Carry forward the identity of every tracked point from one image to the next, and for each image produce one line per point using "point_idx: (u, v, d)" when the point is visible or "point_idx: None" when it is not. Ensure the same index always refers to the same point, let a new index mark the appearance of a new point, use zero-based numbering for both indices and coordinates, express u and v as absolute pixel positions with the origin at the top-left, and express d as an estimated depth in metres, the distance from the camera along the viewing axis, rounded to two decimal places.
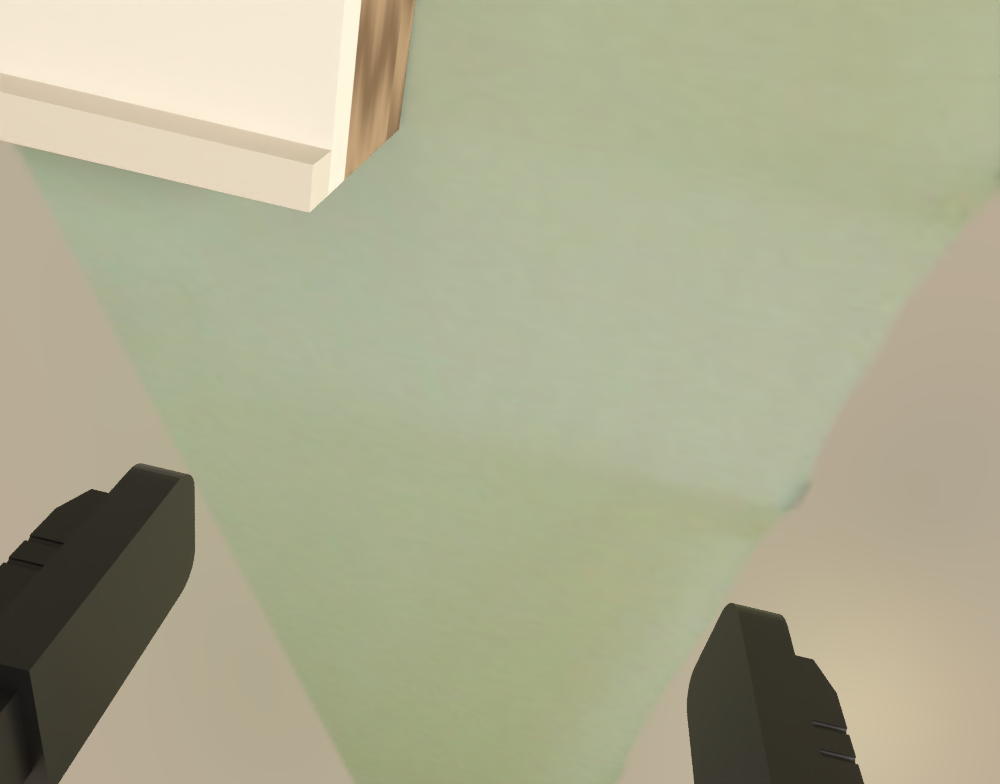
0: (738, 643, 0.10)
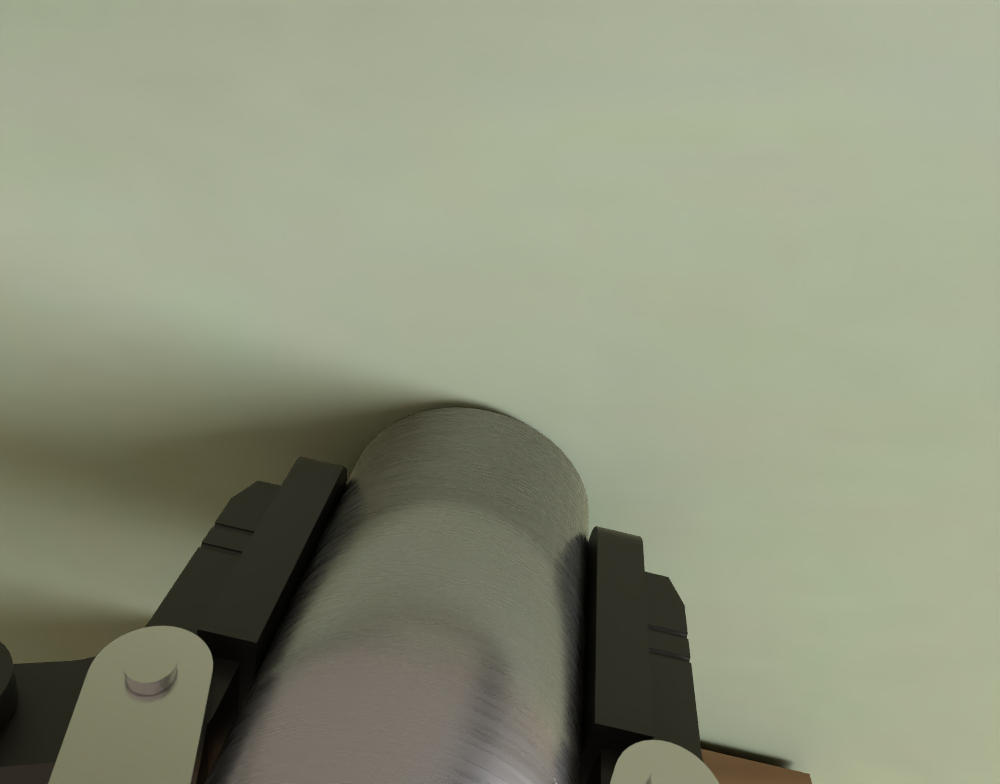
0: (594, 559, 0.11)
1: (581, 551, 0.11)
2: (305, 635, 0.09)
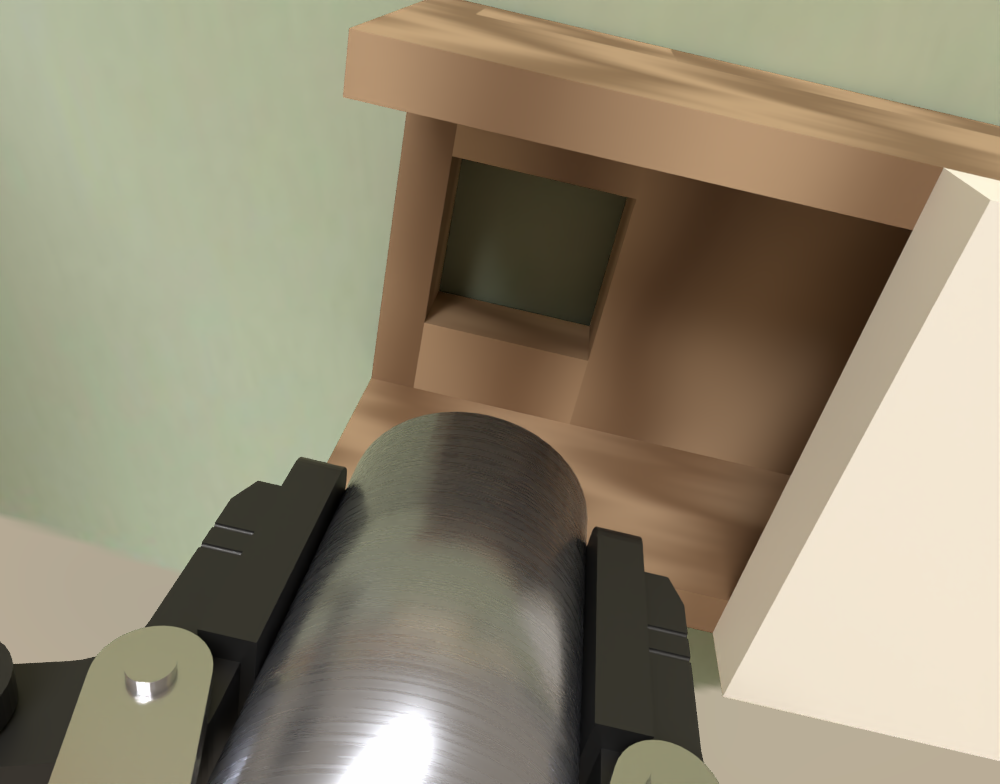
0: (594, 559, 0.11)
1: (580, 555, 0.11)
2: (305, 640, 0.09)
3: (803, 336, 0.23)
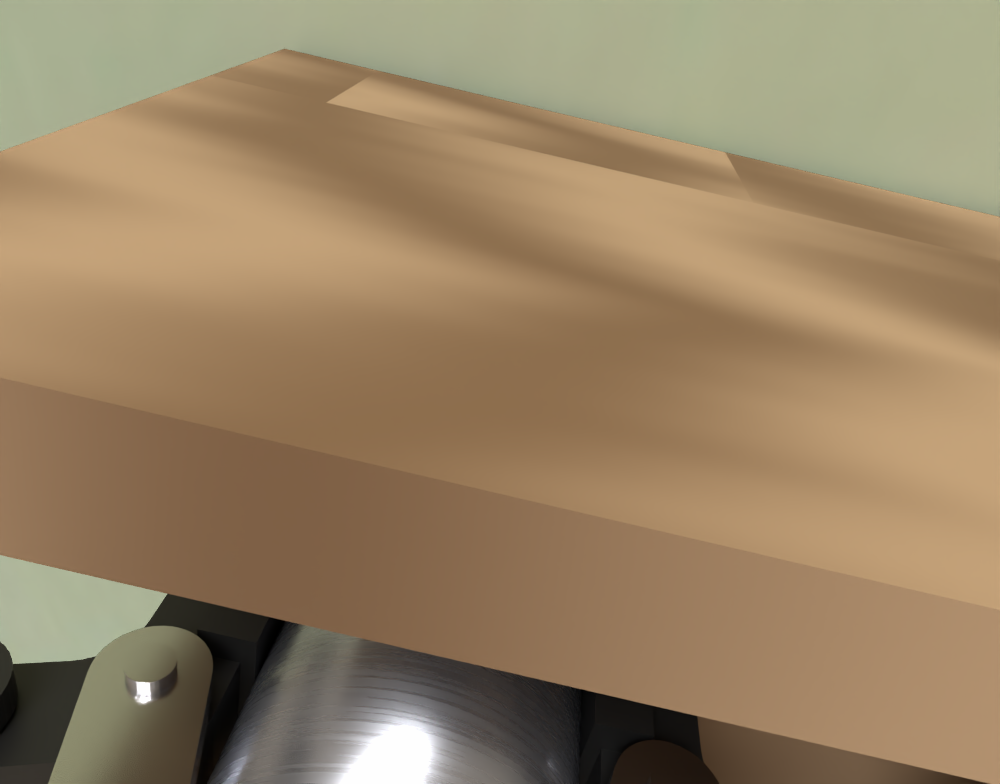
0: None
1: None
2: (305, 639, 0.09)
3: None
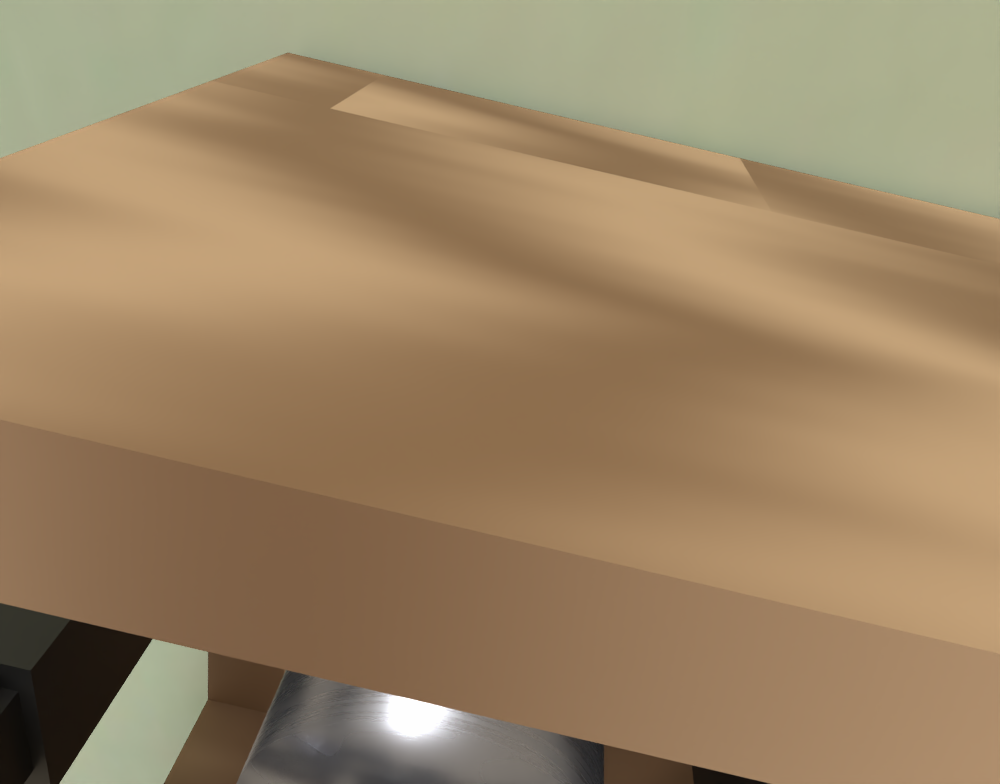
0: None
1: None
2: None
3: None
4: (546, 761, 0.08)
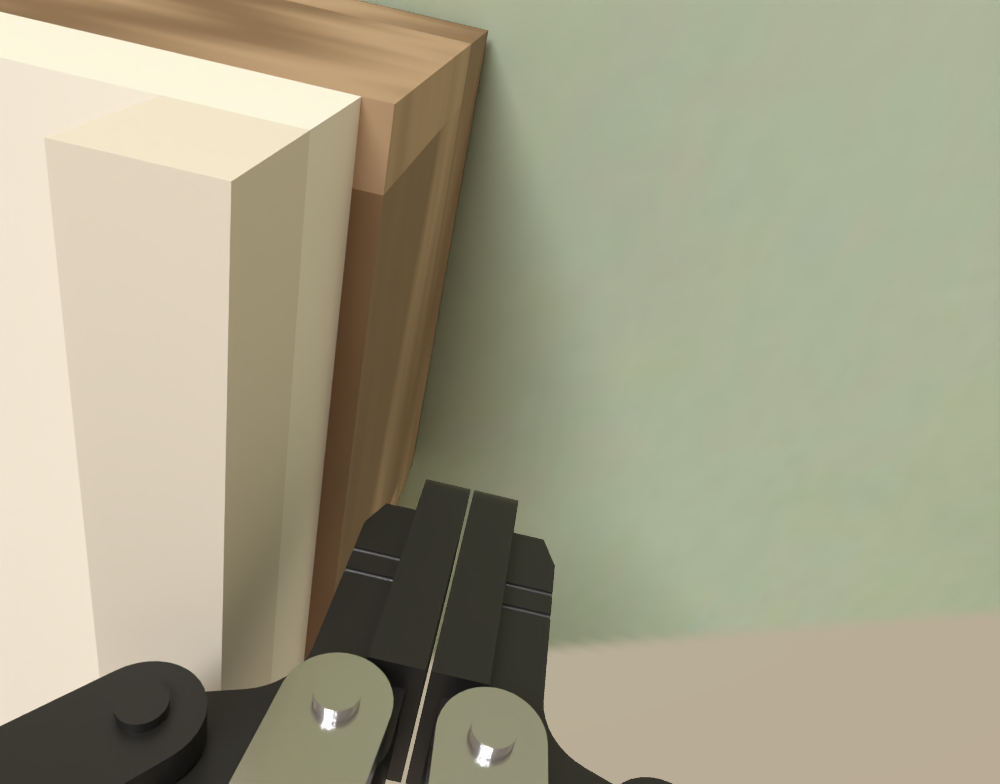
0: (467, 521, 0.11)
1: None
2: None
3: None
4: None
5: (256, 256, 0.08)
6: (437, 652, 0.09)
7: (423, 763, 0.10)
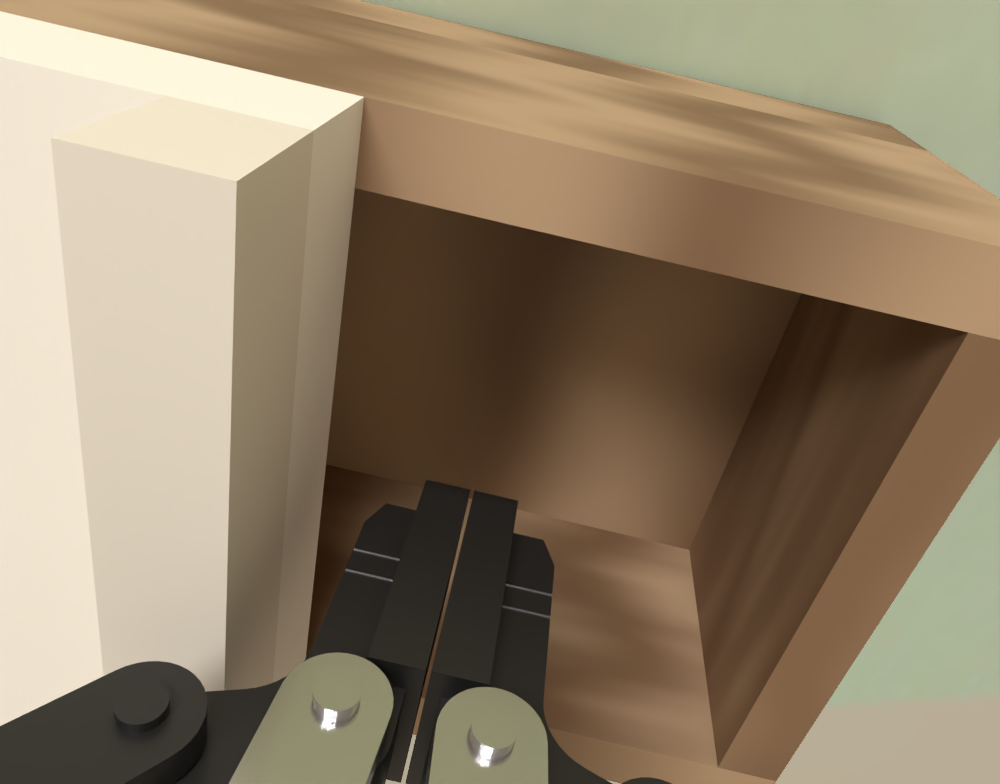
0: (467, 522, 0.11)
1: None
2: None
3: (416, 324, 0.19)
4: None
5: (260, 255, 0.08)
6: (437, 653, 0.09)
7: (423, 763, 0.10)
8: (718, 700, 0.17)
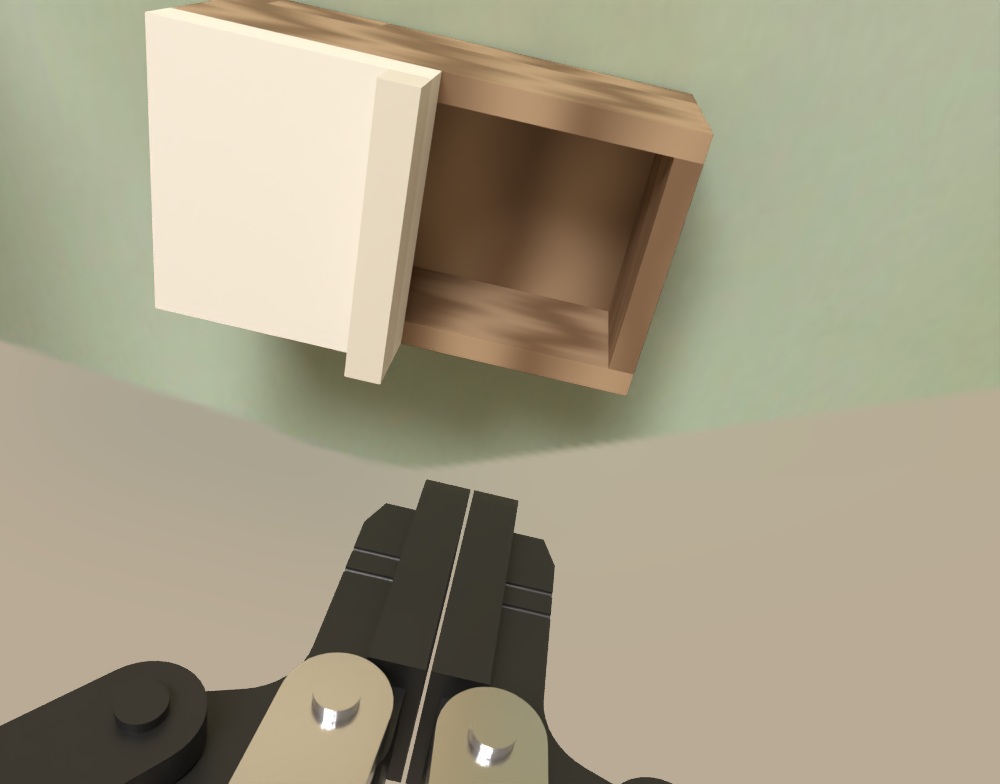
0: None
1: None
2: None
3: (473, 190, 0.40)
4: None
5: (421, 111, 0.29)
6: (437, 652, 0.09)
7: (423, 763, 0.10)
8: (611, 347, 0.38)
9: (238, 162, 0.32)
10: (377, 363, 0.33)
